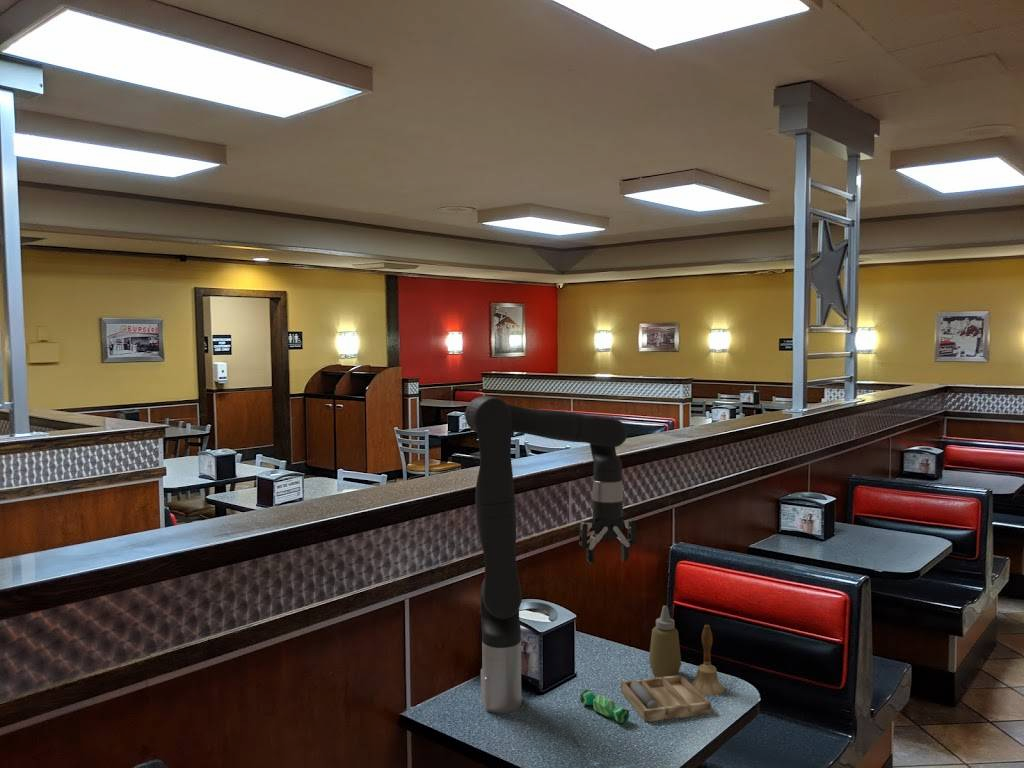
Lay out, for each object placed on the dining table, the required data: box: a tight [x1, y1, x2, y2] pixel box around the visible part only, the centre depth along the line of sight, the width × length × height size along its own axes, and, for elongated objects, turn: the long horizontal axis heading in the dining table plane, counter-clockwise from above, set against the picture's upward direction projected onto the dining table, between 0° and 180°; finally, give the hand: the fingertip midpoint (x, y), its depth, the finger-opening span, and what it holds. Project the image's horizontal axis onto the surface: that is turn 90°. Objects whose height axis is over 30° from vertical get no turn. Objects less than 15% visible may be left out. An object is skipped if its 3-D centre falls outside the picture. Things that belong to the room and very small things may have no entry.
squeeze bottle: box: [648, 605, 682, 678], centre depth 189 cm, size 8×8×18 cm
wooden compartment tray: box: [620, 674, 712, 723], centre depth 175 cm, size 16×15×2 cm
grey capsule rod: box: [631, 681, 658, 709], centre depth 174 cm, size 2×12×2 cm, turn 13°
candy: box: [580, 688, 630, 725], centre depth 170 cm, size 12×3×4 cm, turn 39°
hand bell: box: [690, 624, 725, 696], centre depth 182 cm, size 8×8×16 cm
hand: (607, 562), depth 186 cm, fingers open, 8 cm apart
